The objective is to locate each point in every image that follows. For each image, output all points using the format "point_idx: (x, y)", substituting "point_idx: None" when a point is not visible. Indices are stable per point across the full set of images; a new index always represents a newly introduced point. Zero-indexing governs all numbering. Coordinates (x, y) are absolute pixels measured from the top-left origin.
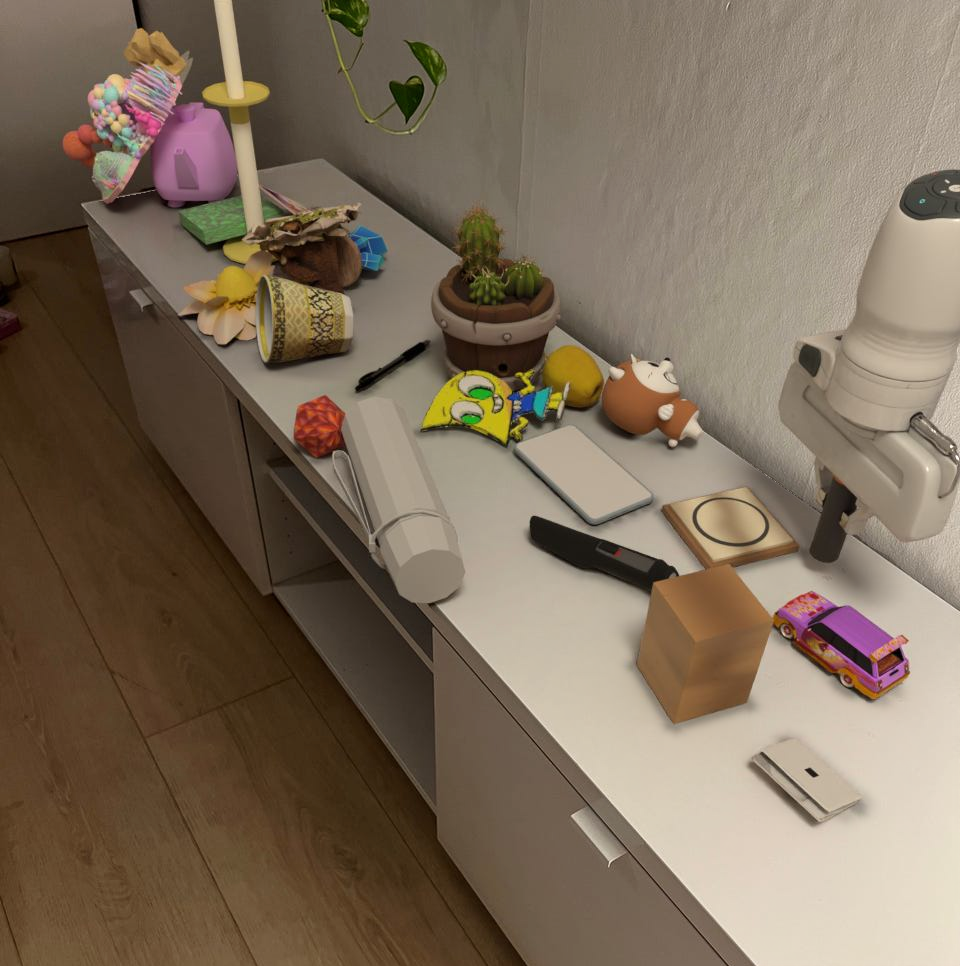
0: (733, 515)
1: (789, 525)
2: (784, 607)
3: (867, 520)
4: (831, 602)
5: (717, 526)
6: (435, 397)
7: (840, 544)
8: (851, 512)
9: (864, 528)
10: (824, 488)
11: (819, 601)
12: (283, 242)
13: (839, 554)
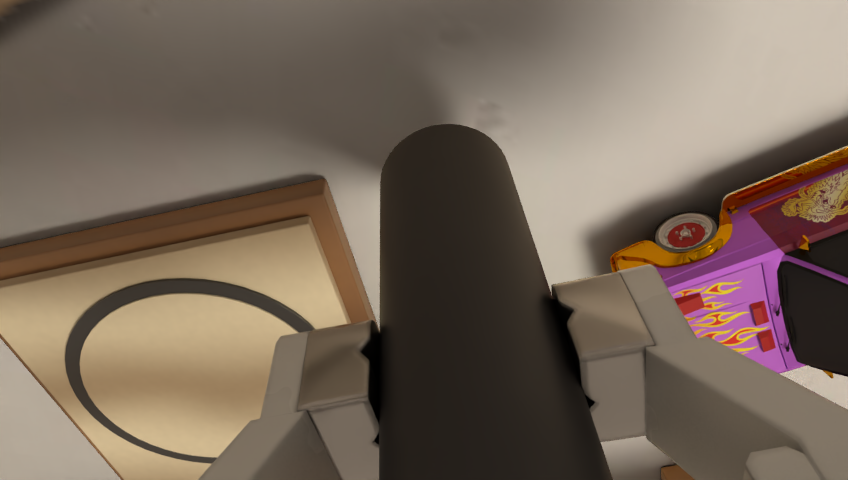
0: (176, 373)
1: (159, 157)
2: None
3: (684, 319)
4: (740, 264)
5: (241, 419)
6: None
7: (525, 217)
8: (608, 408)
9: (656, 271)
10: (344, 473)
11: (719, 300)
12: None
13: (498, 154)
